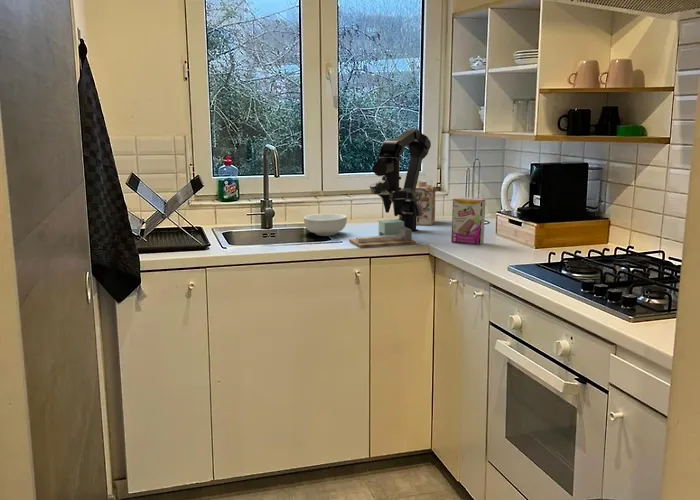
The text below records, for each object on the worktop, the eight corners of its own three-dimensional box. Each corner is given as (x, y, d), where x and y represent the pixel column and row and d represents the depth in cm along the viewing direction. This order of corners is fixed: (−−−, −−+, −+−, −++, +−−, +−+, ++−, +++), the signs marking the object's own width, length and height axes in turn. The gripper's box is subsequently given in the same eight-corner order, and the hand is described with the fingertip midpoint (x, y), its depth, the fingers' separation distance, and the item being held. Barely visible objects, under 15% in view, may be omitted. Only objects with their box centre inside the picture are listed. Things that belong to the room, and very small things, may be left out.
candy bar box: (450, 242, 264) (452, 198, 261) (454, 240, 269) (456, 196, 266) (480, 245, 260) (482, 200, 256) (484, 242, 264) (485, 198, 261)
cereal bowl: (313, 229, 292) (313, 212, 290) (352, 231, 286) (352, 214, 285) (297, 236, 276) (297, 218, 275) (337, 239, 271) (337, 220, 269)
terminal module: (397, 234, 281) (397, 219, 280) (403, 237, 275) (404, 221, 274) (378, 235, 279) (378, 220, 278) (384, 238, 273) (384, 222, 272)
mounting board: (404, 238, 273) (404, 235, 272) (416, 244, 261) (416, 241, 261) (349, 241, 266) (349, 239, 266) (359, 248, 255) (359, 245, 254)
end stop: (404, 237, 270) (404, 226, 269) (411, 240, 263) (411, 229, 262) (398, 237, 269) (398, 227, 268) (405, 240, 262) (405, 230, 262)
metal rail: (406, 238, 268) (406, 234, 268) (409, 239, 265) (409, 235, 265) (355, 241, 262) (355, 237, 261) (358, 242, 259) (358, 238, 259)
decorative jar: (435, 221, 312) (436, 180, 308) (432, 225, 301) (433, 182, 297) (408, 220, 314) (408, 179, 311) (404, 224, 303) (404, 182, 300)
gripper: (363, 172, 279) (363, 211, 282) (380, 177, 261) (380, 219, 264) (390, 171, 282) (390, 210, 285) (408, 176, 265) (408, 217, 268)
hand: (391, 214), depth 276 cm, fingers open, 9 cm apart
